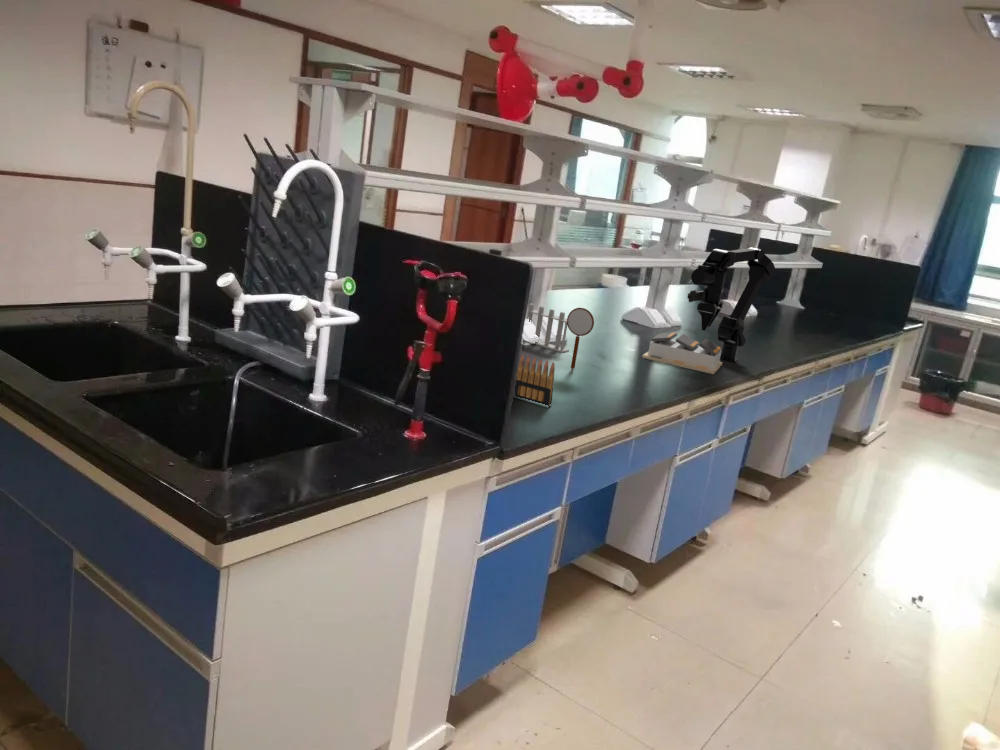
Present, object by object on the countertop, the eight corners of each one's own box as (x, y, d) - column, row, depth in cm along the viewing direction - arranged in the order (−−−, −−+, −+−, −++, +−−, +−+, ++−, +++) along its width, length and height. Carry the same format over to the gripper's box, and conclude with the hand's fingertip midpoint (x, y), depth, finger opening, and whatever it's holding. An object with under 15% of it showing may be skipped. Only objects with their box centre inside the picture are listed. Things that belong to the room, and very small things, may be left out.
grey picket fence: (504, 335, 267) (509, 299, 264) (512, 334, 271) (517, 298, 267) (561, 353, 253) (567, 315, 249) (568, 352, 256) (575, 314, 253)
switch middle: (682, 336, 271) (684, 333, 270) (698, 345, 269) (699, 342, 268) (675, 341, 260) (677, 338, 260) (691, 350, 258) (693, 347, 258)
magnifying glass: (586, 373, 230) (596, 310, 225) (584, 374, 229) (595, 311, 223) (560, 367, 234) (570, 304, 228) (558, 368, 232) (568, 305, 227)
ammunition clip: (511, 397, 196) (518, 353, 193) (514, 396, 198) (521, 352, 194) (548, 408, 192) (555, 363, 188) (551, 406, 193) (558, 362, 190)
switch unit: (654, 349, 278) (657, 334, 276) (722, 364, 269) (725, 348, 267) (642, 357, 262) (645, 341, 260) (713, 374, 253) (717, 357, 251)
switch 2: (704, 340, 268) (706, 337, 267) (719, 350, 266) (721, 348, 266) (698, 345, 257) (700, 342, 256) (714, 356, 255) (716, 353, 255)
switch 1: (659, 336, 274) (659, 333, 274) (677, 335, 271) (677, 332, 271) (651, 341, 264) (651, 337, 263) (670, 340, 261) (669, 337, 261)
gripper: (697, 279, 274) (688, 320, 278) (687, 283, 257) (678, 327, 261) (727, 285, 270) (718, 327, 274) (719, 289, 253) (709, 334, 257)
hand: (705, 328), depth 267 cm, fingers open, 9 cm apart
